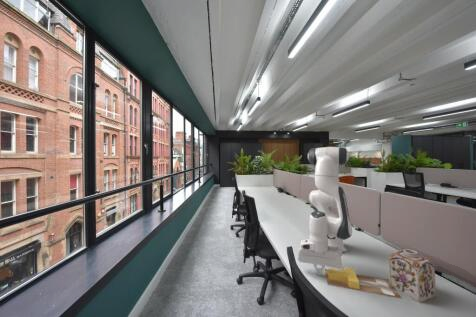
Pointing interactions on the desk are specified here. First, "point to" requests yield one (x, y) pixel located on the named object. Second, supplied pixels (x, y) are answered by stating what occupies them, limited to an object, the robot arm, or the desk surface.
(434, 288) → the decorative jar
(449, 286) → the desk surface
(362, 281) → the board
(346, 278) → the t block
